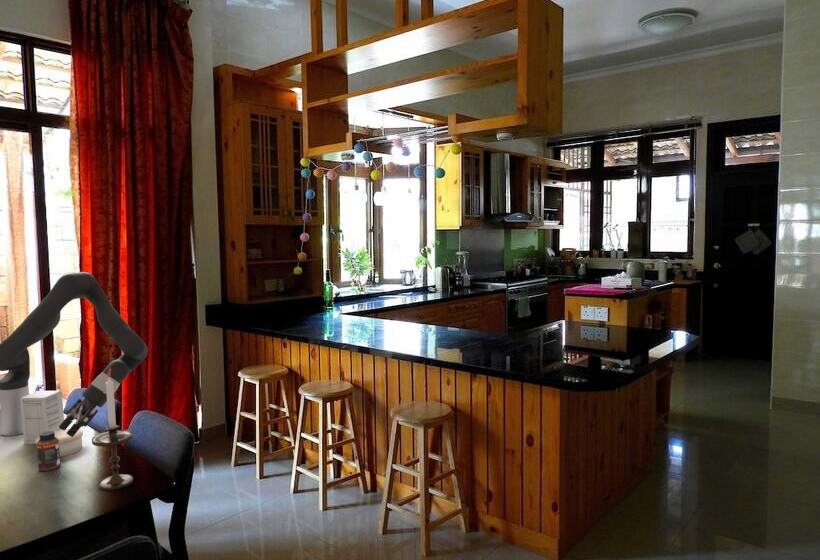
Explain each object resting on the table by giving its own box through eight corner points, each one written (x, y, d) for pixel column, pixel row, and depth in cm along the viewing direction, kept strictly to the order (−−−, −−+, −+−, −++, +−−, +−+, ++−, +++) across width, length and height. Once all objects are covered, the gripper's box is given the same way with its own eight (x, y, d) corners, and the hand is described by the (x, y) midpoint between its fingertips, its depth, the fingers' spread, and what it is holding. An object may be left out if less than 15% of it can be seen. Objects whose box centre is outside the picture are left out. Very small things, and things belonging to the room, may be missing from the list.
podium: (27, 459, 189) (26, 444, 189) (49, 443, 203) (48, 430, 203) (72, 457, 190) (70, 442, 190) (91, 441, 204) (90, 428, 204)
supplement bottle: (65, 465, 184) (62, 431, 183) (46, 473, 178) (43, 437, 177) (52, 462, 186) (50, 428, 185) (34, 470, 181) (31, 434, 180)
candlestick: (143, 482, 170) (135, 365, 167) (104, 495, 162) (96, 373, 159) (126, 472, 177) (119, 360, 174) (88, 485, 169) (80, 367, 166)
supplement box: (66, 435, 212) (63, 390, 210) (48, 444, 203) (44, 397, 201) (42, 434, 213) (38, 390, 211) (23, 444, 204) (19, 397, 202)
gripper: (85, 379, 195) (48, 421, 188) (99, 387, 185) (61, 431, 178) (103, 391, 199) (68, 432, 192) (118, 399, 189) (81, 443, 182)
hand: (65, 432), depth 185 cm, fingers open, 8 cm apart
